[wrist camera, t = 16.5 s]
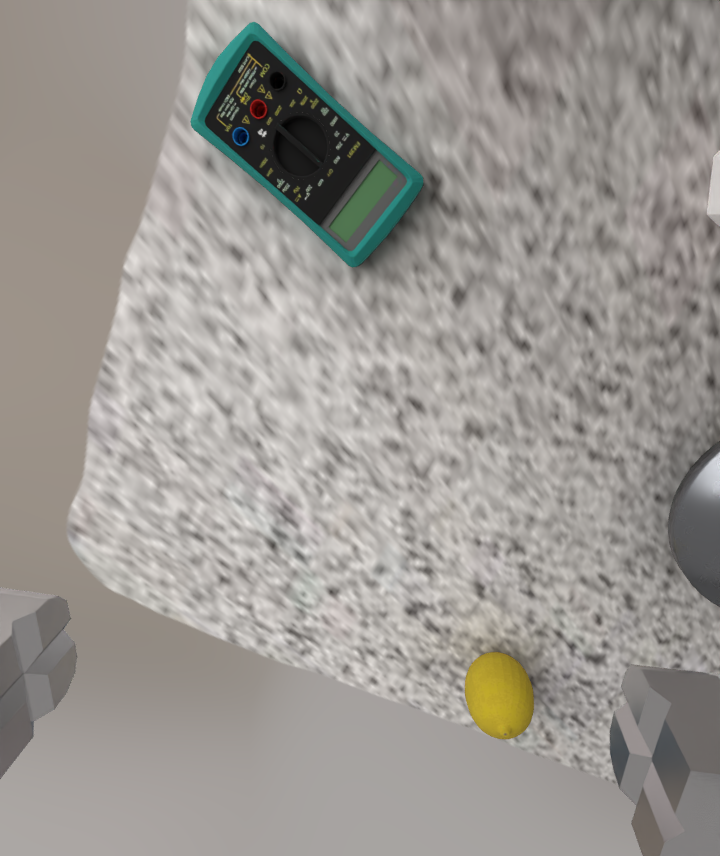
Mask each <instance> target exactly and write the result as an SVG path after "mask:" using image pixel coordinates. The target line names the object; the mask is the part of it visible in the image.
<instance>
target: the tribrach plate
mask: <svg viewBox="0 0 720 856" xmlns="http://www.w3.org/2000/svg"><path fill="white" fill-rule="evenodd" d="M668 535H669V543H670V547H671V550H672V553H673V556H674V558H675V560H676V562H677V564H678V566H679V567H680V569H681V570H682V572H683V573H684V574H685V576H686V577H687V579H688V580H689V581H690V583H691V584H692V585H693V586H694V587H695V588H696V589H697V590H698V591H699V592H700V593H701V594H702V595H703V596H704V597H706V598H707V599H708V600H709V601H711V602H712V603H714V604H716V605H718V606H719V607H720V441H719V442H718V443H716V444H715V445H714V446H712V447H711V448H710V449H709V450H708V451H707V452H706V453H705V454H703V455H702V456H701V457H700V458H699V460H698V461H697V462H696V463H695V464H694V465H693V466H692V467H691V469H690V470H689V471H688V473H687V474H686V476H685V477H684V479H683V480H682V482H681V484H680V486H679V488H678V490H677V492H676V494H675V496H674V499H673V502H672V505H671V509H670V514H669V521H668Z"/></svg>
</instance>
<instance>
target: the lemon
mask: <svg viewBox="0 0 720 856" xmlns="http://www.w3.org/2000/svg"><path fill="white" fill-rule="evenodd" d="M465 697H466V702H467V705H468V708H469V711H470V714H471V716H472V718H473V720H474V721H475V723H476V724H477V726H478V727H479V728H480V729H481V730H482V731H483V732H485V733H486V734H488V735H490V736H492V737H495V738H498V739H511V738H514V737H516V736H518V735H520V734H521V733H522V732H524V731H525V730H526V728H527V727H528V725H529V724H530V722H531V719H532V715H533V710H534V696H533V688H532V685H531V682H530V679H529V677H528V675H527V673H526V671H525V669H524V668H523V667H522V666H521V665H520V663H519V662H518V661H516V660H515V659H514V658H512V657H511V656H509V655H506V654H504V653H499V652H491V653H486V654H484V655H481V656H480V657H478V658H477V659H476V660H475V661H474V662H473V663H472V665H471V666H470V668H469V670H468V672H467V675H466V680H465Z"/></svg>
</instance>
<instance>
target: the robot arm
mask: <svg viewBox="0 0 720 856" xmlns="http://www.w3.org/2000/svg"><path fill="white" fill-rule="evenodd" d="M70 619H71V617H70V612H69V608H68V603H67V600H65V599H63V598H61V597H59V596H55V595H48V594H41V593H35V592H28V591H21V590H14V589H7V588H0V779H1V778H2V776H3V775H4V774H5V772H6V771H7V770H8V768H9V767H10V766H11V765H12V763H13V762H14V761H15V759H16V758H17V757H18V756H19V754H20V753H21V752H22V751H23V749H24V748H25V747H26V746H27V744H28V743H29V742H30V740H31V739H32V738H33V736H34V721H35V720H37V719H39V718H41V717H42V716H44V715H46V714H48V713H49V712H51V711H53V710H54V709H55V708H56V707H57V705H58V704H59V702H60V701H61V700H62V699H63V697H64V696H65V695H66V693H67V691H68V689H69V686H70V684H71V681H72V679H73V676H74V674H75V669H76V660H77V653H76V646H75V642H74V641H73V640H72V639H71V638H70V637H69V636H68V634H67V633H66V632H65V631H64V630H63V629H64V628H65V626H66V625H67V623H68V622H69V621H70ZM621 688H622V690H623V692H624V695H625V697H626V700H627V703H625V704H624V705H622V706H621V707H620V708H618V709H617V710H616V711H614V715H613V719H612V723H611V728H610V755H611V760H612V765H613V770H614V773H615V776H616V779H617V783H618V786H619V788H620V790H622V792H623V793H624V794H625V795H626V796H627V797H628V798H629V799H630V800H631V801H632V802H633V803H634V804H635V805H636V810H635V813H634V816H633V820H632V827H633V829H634V832H635V835H636V838H637V841H638V844H639V847H640V849H641V852H642V855H643V856H720V673H703V672H694V671H685V670H676V669H667V668H659V667H650V666H641V665H632V664H631V666H630V667H629V668H628V669H627V671H626V672H625V675H624V679H623V682H622V685H621Z"/></svg>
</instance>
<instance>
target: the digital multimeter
mask: <svg viewBox="0 0 720 856" xmlns="http://www.w3.org/2000/svg"><path fill="white" fill-rule="evenodd" d="M261 43H262V44H263V45H262V44H261ZM272 53H273V54H274V55H275V56H276V57H275V56H274V55H273V54H272ZM243 55H244V56H243ZM241 58H242V59H241ZM238 63H239V64H238ZM285 65H286V66H287V67H288V68H287V67H286V66H285ZM236 66H237V67H236ZM235 68H236V69H235ZM233 71H234V72H233ZM230 76H231V77H230ZM228 79H229V80H228ZM300 79H301V80H300ZM227 81H228V82H227ZM225 84H226V85H225ZM222 89H223V90H222ZM220 92H221V93H220ZM219 94H220V95H219ZM217 97H218V98H217ZM214 102H215V103H214ZM212 105H213V106H212ZM211 107H212V108H211ZM296 112H297V113H296ZM302 112H303V113H302ZM323 125H324V126H323ZM191 126H192V128H193V129H194V130H195V131H196V132H198V133H199V134H200V135H201V136H203V137H204V138H205V139H206V140H208V141H209V142H210V143H211V144H213V145H214V146H215V147H216V148H218V149H219V150H220V151H221V152H223V153H224V154H225V155H226V156H228V157H229V158H230V159H231V160H232V161H234V162H235V163H236V164H237V165H238V166H240V167H241V168H242V169H243V170H244V171H246V172H247V173H248V174H249V175H250V176H252V177H253V178H254V179H255V180H256V181H258V182H259V183H260V184H261V185H262V186H264V187H265V188H266V189H267V190H268V191H269V192H271V193H272V194H273V195H274V196H275V197H276V198H277V199H278V200H279V201H281V202H282V203H283V204H284V205H285V206H286V207H287V208H288V209H289V210H291V211H292V212H293V213H294V214H295V215H296V216H297V217H298V218H299V219H301V220H302V221H303V222H304V223H305V224H306V225H307V226H308V227H309V228H310V229H311V230H312V231H313V232H314V233H315V234H316V235H317V236H319V237H320V238H321V239H322V240H323V241H324V242H325V243H326V244H327V245H328V246H329V247H330V248H331V249H332V250H333V251H334V252H335V253H336V254H337V255H338V256H339V257H340V258H341V259H342V260H343V261H345V262H346V263H347V264H348V265H349V266H351V267H357V266H359V265H360V264H362V263H363V262H364V261H365V260H366V259H367V258H368V257H369V256H370V254H371V253H372V252H373V251H374V250H375V249H376V248H377V247H378V246H379V245H380V244H381V242H382V241H383V240H384V239H385V238H386V237H387V236H388V234H389V233H390V232H391V231H392V229H393V228H394V227H395V226H396V224H397V223H398V222H399V221H400V219H401V218H402V216H403V215H404V214H405V212H406V211H407V209H408V208H409V207H410V205H411V204H412V202H413V201H414V199H415V198H416V196H417V195H418V194H419V192H420V191H421V189H422V187H423V177H422V176H421V174H420V173H418V172H417V171H416V170H415V169H414V168H413V167H411V166H410V165H409V164H408V163H407V162H405V161H404V160H403V159H402V158H401V157H400V156H398V155H397V154H396V153H395V152H394V151H392V150H391V149H390V148H389V147H388V146H386V145H385V144H384V143H383V142H382V141H381V140H379V139H378V138H377V137H376V136H375V135H373V134H372V133H371V132H370V131H369V130H368V129H367V128H366V127H364V126H363V125H362V124H361V123H360V122H359V121H358V120H357V119H356V118H354V117H353V116H352V115H351V114H350V113H349V112H348V111H347V110H346V109H344V108H343V107H342V106H341V105H340V104H339V103H338V102H337V101H336V100H335V99H333V98H332V97H331V96H330V95H329V94H328V93H327V92H326V91H325V90H324V89H323V88H322V87H321V86H320V85H319V84H318V83H317V82H316V81H315V80H314V79H313V78H312V77H311V76H310V75H309V74H308V73H307V72H306V71H305V70H304V69H303V68H302V67H301V66H299V65H298V64H297V63H296V62H295V61H294V60H293V59H292V58H291V57H290V56H289V55H288V54H287V53H286V52H285V51H284V50H283V49H282V47H281V46H280V45H279V44H278V43H277V42H276V41H275V40H274V39H273V38H272V37H271V36H270V35H269V34H268V33H267V32H266V31H265V30H264V29H263V28H262V27H261V26H260V25H259V24H257V23H255V22H252V23H249V24H248V25H247V26H246V27H245V28H244V29H243V30H242V31H241V32H240V33H239V34H238V35H237V36H236V37H235V38H234V39H233V40H232V41H231V42H230V44H229V45H228V46H227V47H226V48H225V50H224V51H223V52H222V53H221V54H220V56H219V57H218V58H217V60H216V61H215V63H214V65H213V66H212V68H211V70H210V71H209V73H208V75H207V76H206V79H205V81H204V84H203V86H202V89H201V91H200V94H199V96H198V99H197V102H196V105H195V108H194V112H193V115H192V118H191ZM216 135H217V136H216ZM233 150H234V151H233ZM272 156H273V157H272ZM275 163H276V164H275ZM298 179H299V180H298ZM303 179H304V180H303Z"/></svg>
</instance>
